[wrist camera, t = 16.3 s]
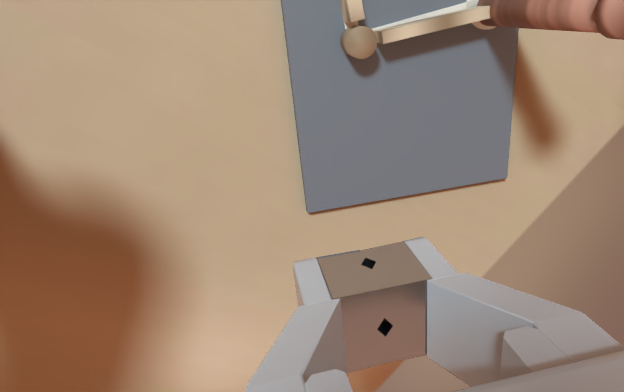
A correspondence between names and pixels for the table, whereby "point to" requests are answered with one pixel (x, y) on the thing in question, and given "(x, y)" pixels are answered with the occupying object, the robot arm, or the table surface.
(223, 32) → the table surface
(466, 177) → the board
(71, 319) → the table surface
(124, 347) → the table surface
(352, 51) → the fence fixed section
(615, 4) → the brown wooden l-shaped piece
